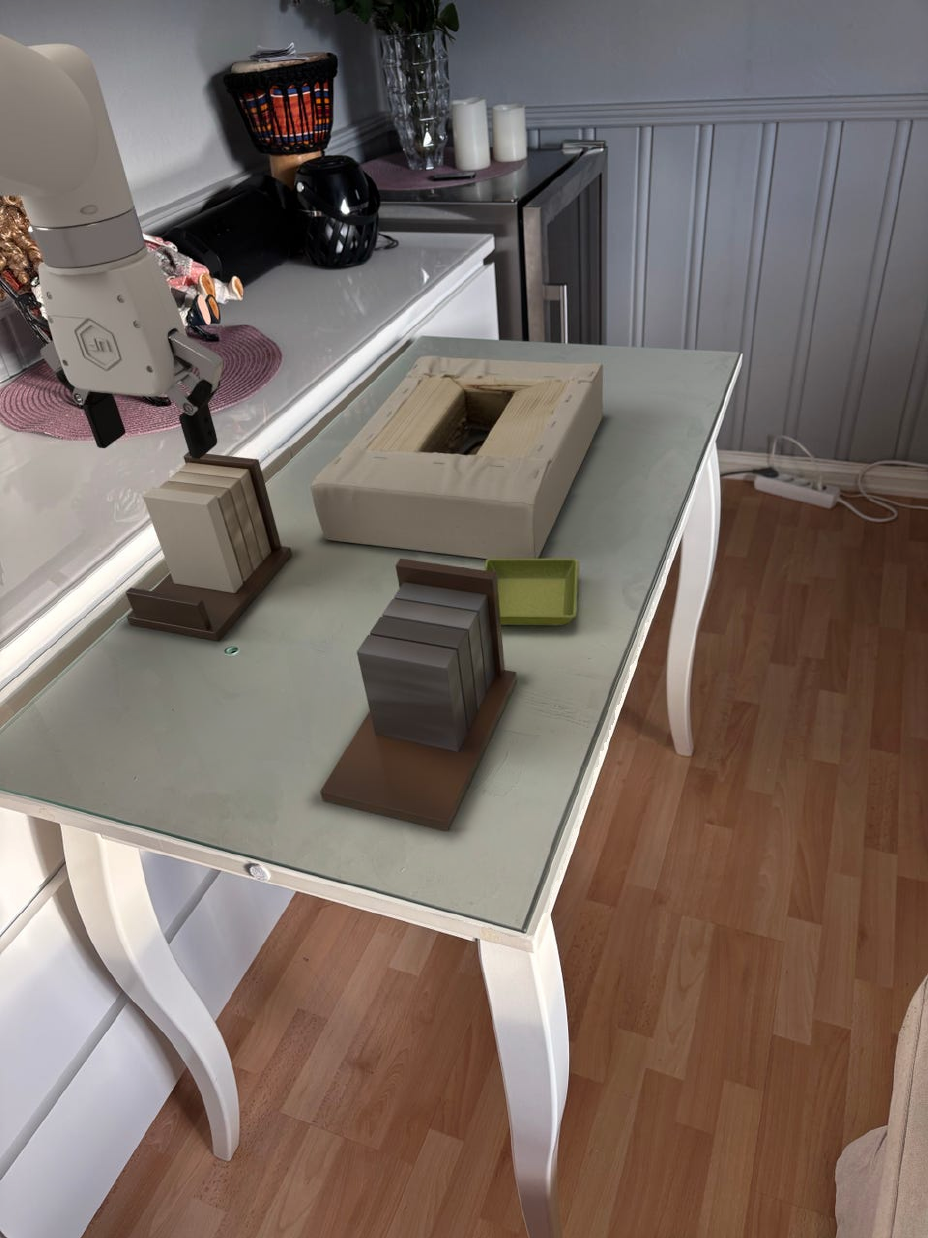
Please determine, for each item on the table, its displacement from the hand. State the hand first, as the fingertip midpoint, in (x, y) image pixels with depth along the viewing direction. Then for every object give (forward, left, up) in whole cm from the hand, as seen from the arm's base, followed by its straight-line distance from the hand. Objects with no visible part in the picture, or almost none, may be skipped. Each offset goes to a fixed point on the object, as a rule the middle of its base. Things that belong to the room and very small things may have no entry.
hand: (157, 446), depth 79 cm
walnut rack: (-12, -28, -16) cm, 35 cm away
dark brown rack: (+1, 0, -16) cm, 16 cm away
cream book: (+1, 0, -15) cm, 15 cm away
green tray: (+6, -31, -16) cm, 36 cm away
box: (+27, -18, -16) cm, 36 cm away
